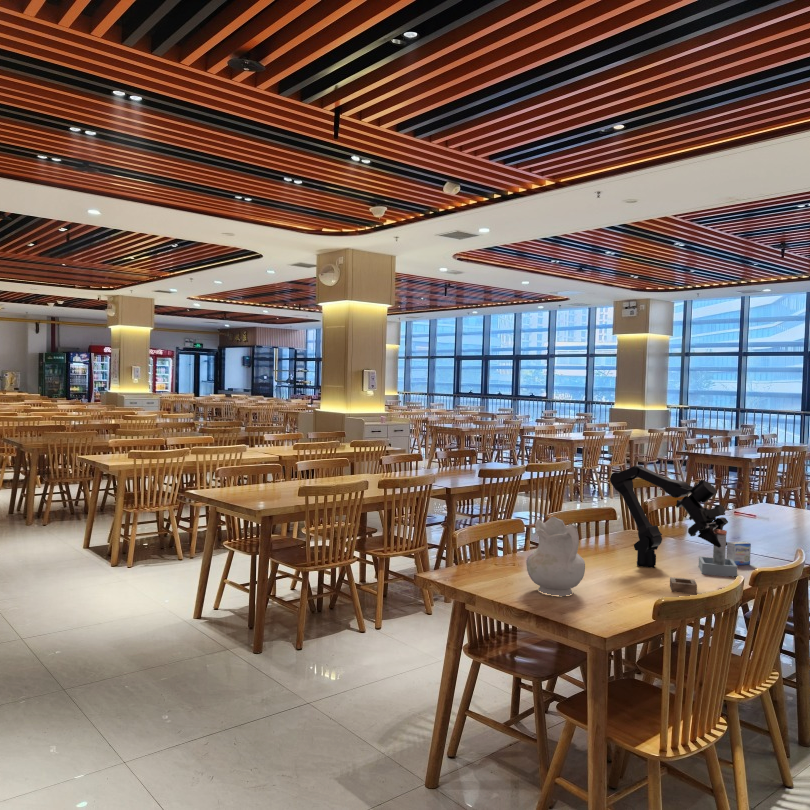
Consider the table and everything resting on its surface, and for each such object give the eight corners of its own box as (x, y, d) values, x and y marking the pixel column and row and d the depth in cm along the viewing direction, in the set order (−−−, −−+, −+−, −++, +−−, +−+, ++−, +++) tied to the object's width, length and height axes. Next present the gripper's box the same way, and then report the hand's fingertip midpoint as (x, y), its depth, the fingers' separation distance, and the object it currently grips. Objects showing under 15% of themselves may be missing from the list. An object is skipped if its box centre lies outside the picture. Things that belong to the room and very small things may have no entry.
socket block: (671, 591, 240) (671, 582, 239) (669, 585, 247) (670, 577, 247) (696, 594, 237) (697, 585, 237) (694, 587, 245) (694, 579, 245)
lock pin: (718, 565, 249) (719, 531, 249) (709, 562, 253) (711, 529, 253) (727, 564, 250) (729, 531, 250) (719, 561, 254) (720, 529, 254)
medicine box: (733, 565, 278) (734, 544, 278) (725, 562, 283) (726, 541, 282) (750, 564, 281) (751, 543, 280) (742, 562, 285) (743, 540, 285)
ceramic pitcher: (601, 601, 230) (607, 525, 231) (558, 605, 219) (565, 525, 220) (553, 585, 248) (559, 514, 249) (512, 588, 238) (518, 514, 238)
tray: (702, 574, 264) (702, 563, 264) (698, 566, 276) (698, 556, 276) (736, 577, 261) (737, 566, 261) (731, 569, 272) (732, 559, 272)
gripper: (697, 499, 248) (726, 536, 240) (724, 495, 260) (752, 530, 252) (675, 517, 255) (703, 554, 247) (703, 513, 266) (730, 547, 258)
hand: (723, 546), depth 251 cm, fingers closed on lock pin, 4 cm apart
